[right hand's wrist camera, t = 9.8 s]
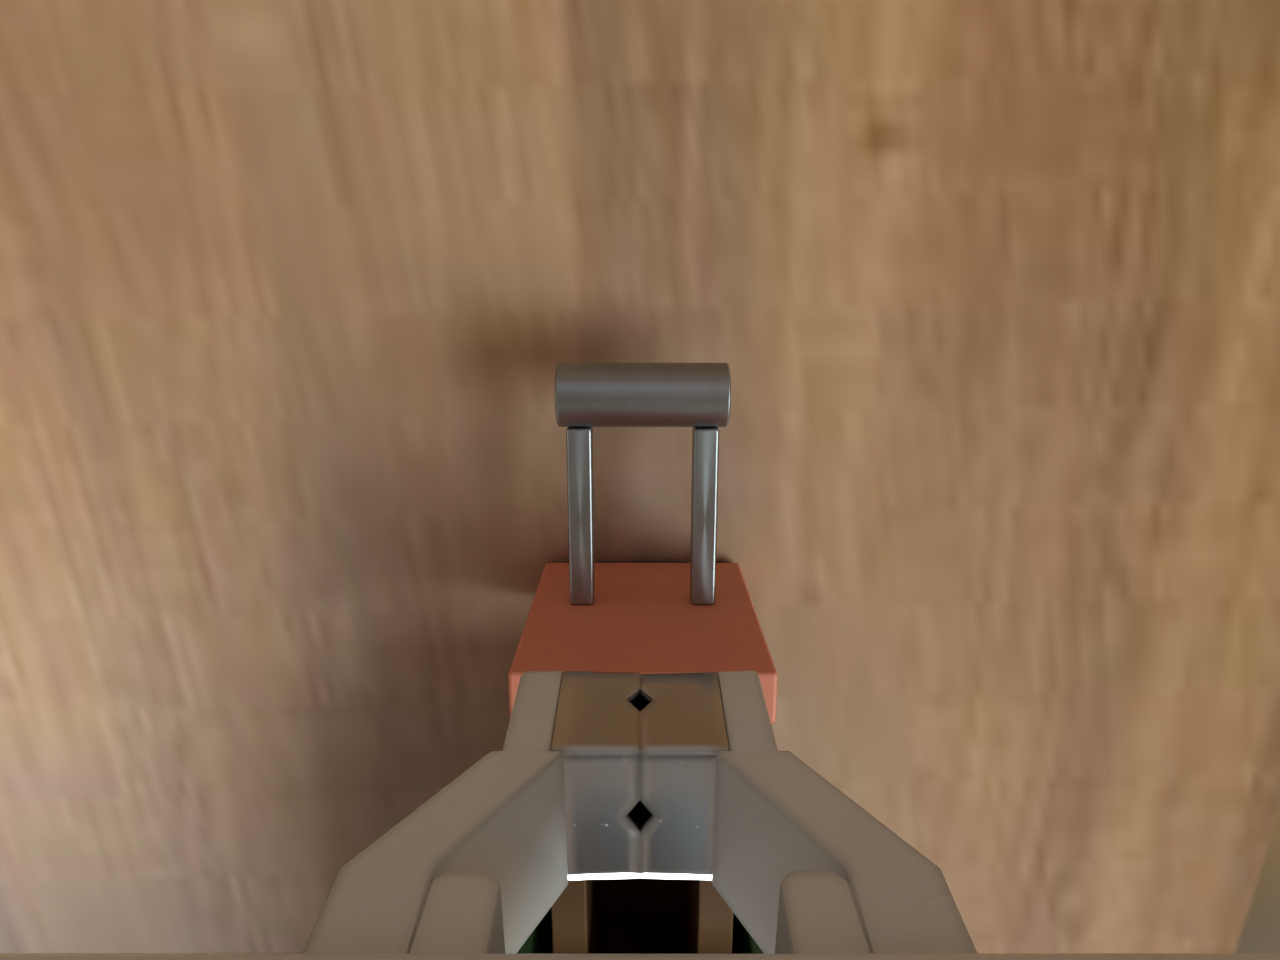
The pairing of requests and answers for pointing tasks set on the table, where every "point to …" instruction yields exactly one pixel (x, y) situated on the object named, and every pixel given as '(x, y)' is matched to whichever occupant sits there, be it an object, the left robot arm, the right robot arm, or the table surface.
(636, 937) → the drawer
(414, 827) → the right robot arm
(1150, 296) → the table surface
